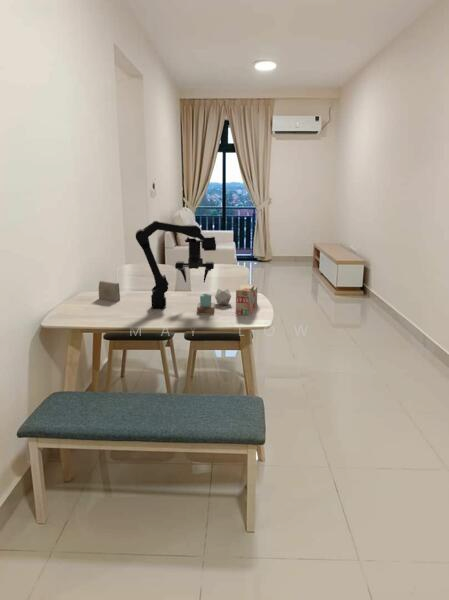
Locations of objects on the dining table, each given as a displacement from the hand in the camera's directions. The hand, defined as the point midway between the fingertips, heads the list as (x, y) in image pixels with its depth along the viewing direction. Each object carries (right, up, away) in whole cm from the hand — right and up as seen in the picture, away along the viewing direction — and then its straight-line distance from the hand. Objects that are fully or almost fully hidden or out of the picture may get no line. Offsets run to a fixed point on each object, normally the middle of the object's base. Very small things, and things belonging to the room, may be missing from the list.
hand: (195, 282), depth 222 cm
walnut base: (+6, -14, -7) cm, 17 cm away
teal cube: (+6, -11, -7) cm, 15 cm away
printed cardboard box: (+26, -14, -2) cm, 29 cm away
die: (+14, -11, +6) cm, 19 cm away
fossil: (-46, -9, +13) cm, 48 cm away
